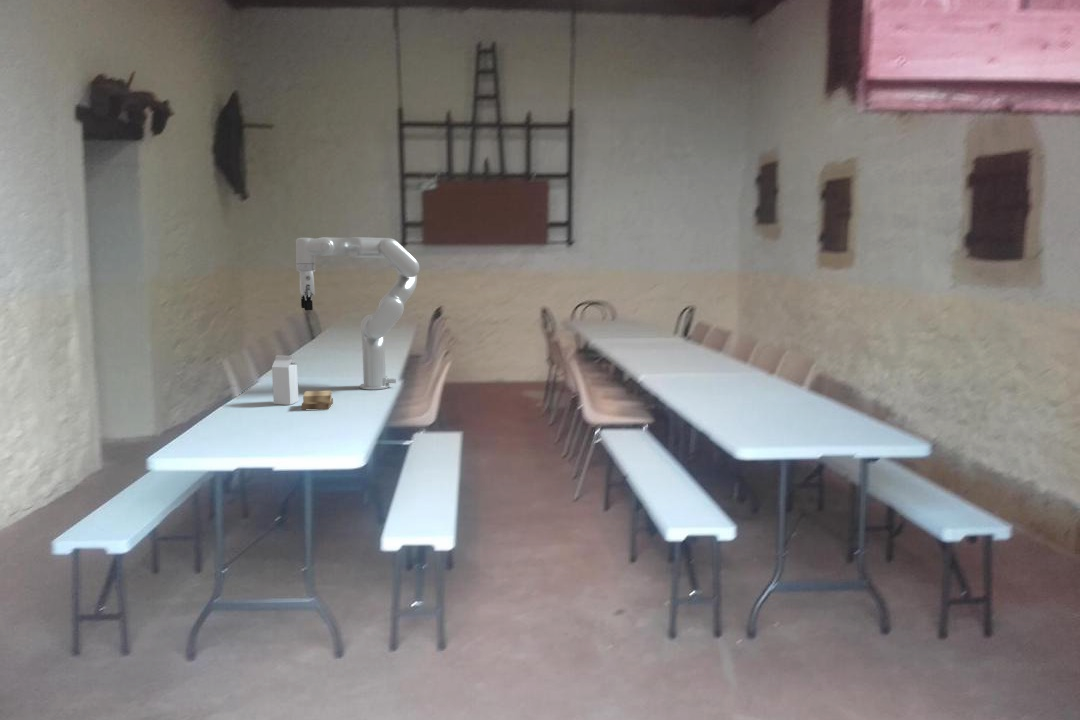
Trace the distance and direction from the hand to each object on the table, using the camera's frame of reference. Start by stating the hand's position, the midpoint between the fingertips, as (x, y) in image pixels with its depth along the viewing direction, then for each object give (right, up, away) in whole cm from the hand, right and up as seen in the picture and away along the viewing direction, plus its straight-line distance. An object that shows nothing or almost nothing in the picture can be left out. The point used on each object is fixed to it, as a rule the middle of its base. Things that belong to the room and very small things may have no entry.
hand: (306, 309), depth 368 cm
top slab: (+11, -37, -27) cm, 47 cm away
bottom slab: (+11, -40, -26) cm, 49 cm away
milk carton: (-3, -39, -18) cm, 43 cm away
